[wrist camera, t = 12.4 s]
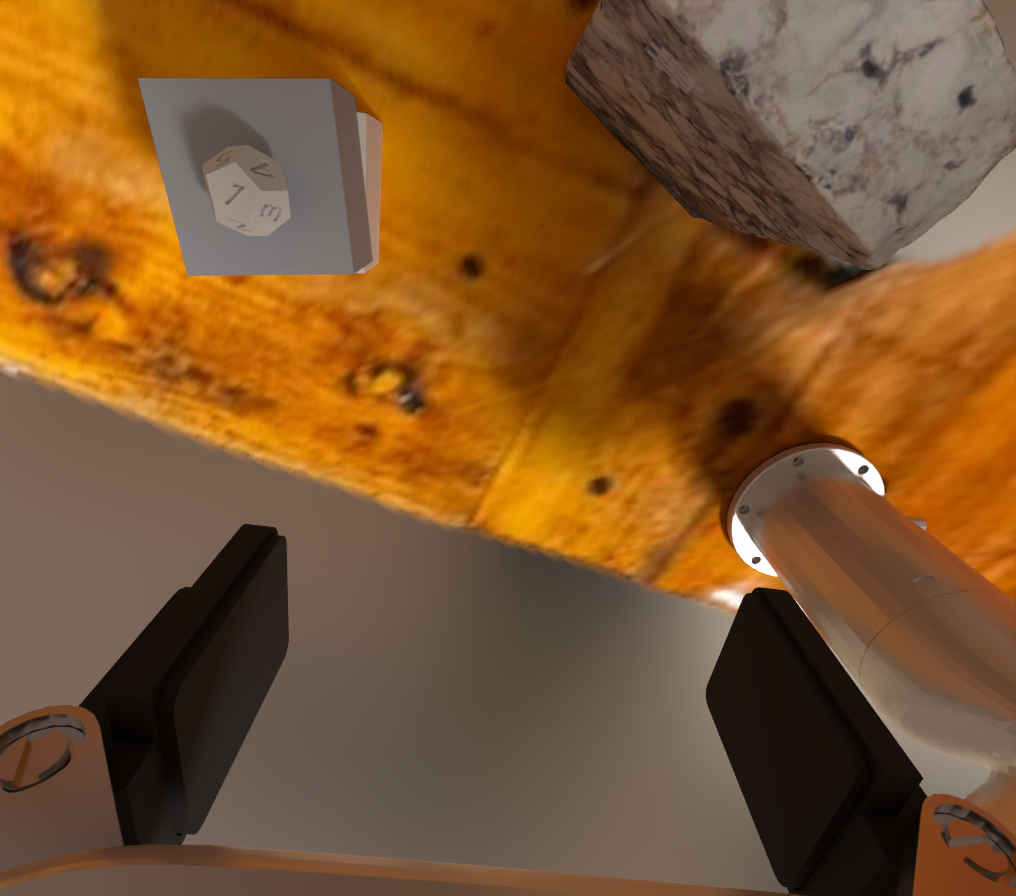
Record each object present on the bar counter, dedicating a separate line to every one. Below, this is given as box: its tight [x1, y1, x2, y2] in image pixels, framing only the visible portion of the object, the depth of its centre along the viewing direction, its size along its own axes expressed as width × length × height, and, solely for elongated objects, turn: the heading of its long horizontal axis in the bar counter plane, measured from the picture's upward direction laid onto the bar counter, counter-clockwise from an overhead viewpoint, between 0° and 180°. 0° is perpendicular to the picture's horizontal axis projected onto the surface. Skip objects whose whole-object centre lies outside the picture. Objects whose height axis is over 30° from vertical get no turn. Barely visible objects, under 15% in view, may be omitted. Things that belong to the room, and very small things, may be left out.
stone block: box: [561, 0, 1016, 270], centre depth 24 cm, size 13×7×20 cm, turn 54°
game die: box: [202, 145, 291, 236], centre depth 23 cm, size 4×4×3 cm
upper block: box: [138, 78, 373, 276], centre depth 27 cm, size 8×8×5 cm
